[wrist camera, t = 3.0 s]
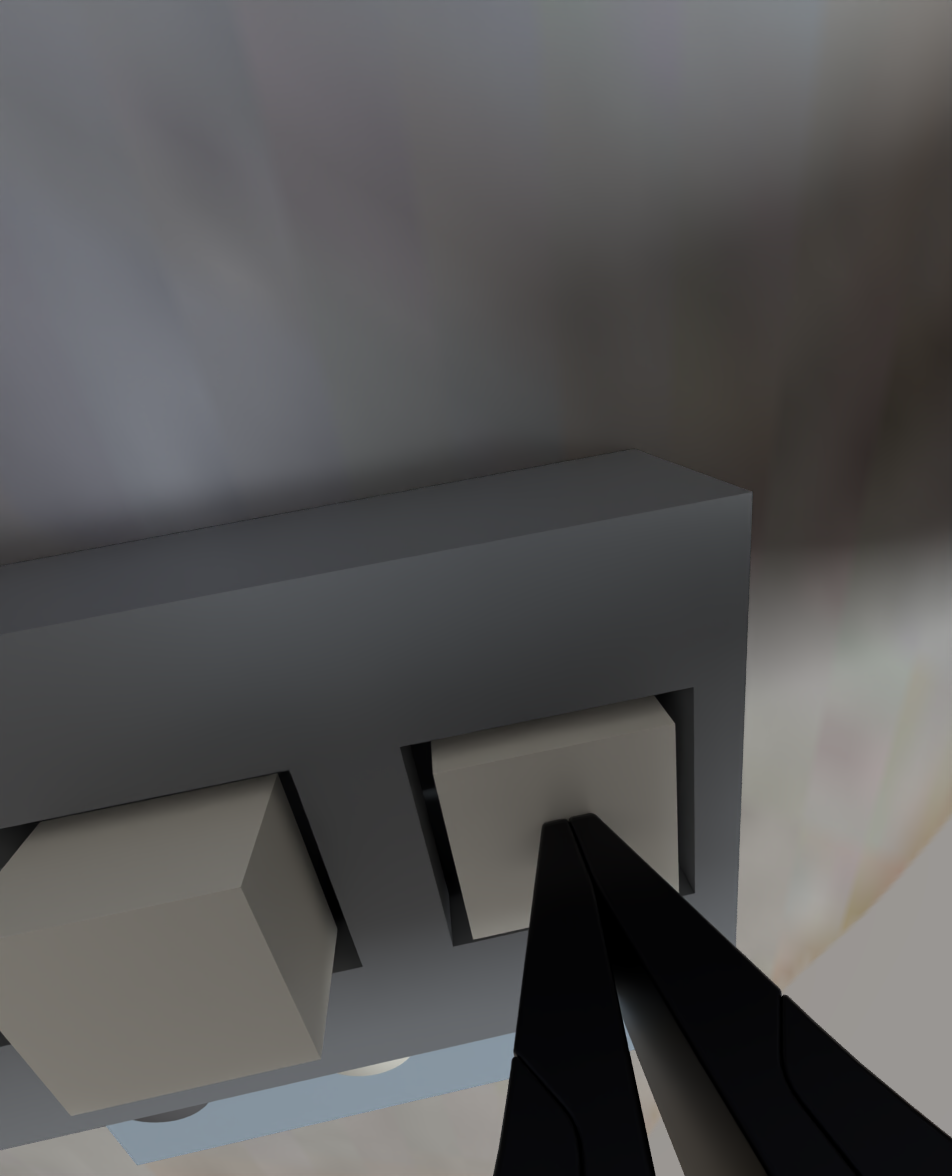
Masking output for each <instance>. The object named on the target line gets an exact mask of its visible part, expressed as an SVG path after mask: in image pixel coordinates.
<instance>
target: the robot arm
mask: <svg viewBox="0 0 952 1176" xmlns="http://www.w3.org/2000/svg"><path fill="white" fill-rule="evenodd" d="M623 1021H624V1023H625V1026H626V1028H627V1031H628V1033H629V1036H630V1039H631V1041H632V1044H633V1046H634V1049H635V1051H636V1054H637V1056H638V1059H639V1061H640V1064H641V1066H642V1069H643V1071H644V1074H645V1076H646V1079H647V1081H648V1084H649V1086H650V1089H651V1091H652V1094H653V1097H654V1099H655V1102H656V1104H657V1107H658V1109H659V1112H660V1114H661V1117H662V1119H663V1122H664V1124H665V1127H666V1129H667V1132H668V1134H669V1137H670V1139H671V1142H672V1144H673V1147H674V1150H675V1152H676V1155H677V1157H678V1160H679V1162H680V1165H681V1167H682V1170H683V1172H684V1175H685V1176H952V1138H951V1137H950V1136H949V1135H948V1134H946V1133H945V1132H944V1131H942V1130H941V1129H940V1128H939V1127H937V1126H936V1125H935V1124H934V1123H933V1122H931V1121H930V1120H929V1119H928V1118H926V1117H925V1116H924V1115H923V1114H922V1113H920V1112H919V1111H918V1110H917V1109H915V1108H914V1107H913V1106H912V1105H910V1104H909V1103H908V1102H907V1101H906V1100H904V1099H903V1098H902V1097H901V1096H899V1095H898V1094H897V1093H896V1092H895V1091H894V1090H892V1089H891V1088H890V1087H889V1086H888V1085H886V1084H885V1083H884V1082H883V1081H882V1080H880V1079H879V1078H878V1077H877V1076H876V1075H874V1074H873V1073H872V1072H871V1071H870V1070H868V1069H867V1068H866V1067H865V1066H864V1065H862V1064H861V1063H860V1062H859V1061H858V1060H857V1059H856V1058H855V1057H853V1056H852V1055H851V1054H850V1053H849V1052H848V1051H847V1050H846V1049H844V1048H843V1047H842V1046H841V1045H840V1044H839V1043H838V1042H837V1041H836V1040H835V1039H833V1038H832V1037H831V1036H830V1035H829V1034H828V1033H827V1032H826V1031H825V1030H824V1029H822V1028H821V1027H820V1026H819V1025H818V1024H817V1023H816V1022H815V1021H814V1020H813V1019H811V1018H810V1017H809V1016H808V1015H807V1014H806V1013H805V1012H804V1011H803V1010H802V1009H801V1008H800V1007H799V1006H798V1005H797V1004H796V1003H795V1002H794V1001H793V1000H792V999H791V998H789V996H787V995H783V996H782V994H781V990H780V988H779V987H778V986H777V985H775V984H774V983H773V982H772V981H771V980H770V979H769V978H768V977H767V976H766V975H765V974H764V973H763V972H762V971H761V970H760V969H759V968H758V967H756V966H755V965H754V964H753V963H752V962H751V961H750V960H749V959H748V958H747V957H746V956H745V955H744V954H743V953H742V952H741V951H740V950H738V949H737V948H736V947H735V946H734V945H733V944H732V943H731V942H730V941H729V940H728V939H727V938H726V937H725V936H724V935H723V934H722V933H721V932H719V931H718V930H717V929H716V928H715V927H714V926H713V925H712V924H711V923H710V922H709V921H708V920H707V919H706V918H705V917H704V916H703V915H702V914H700V913H699V912H698V911H697V910H696V909H695V908H694V907H693V906H692V905H691V904H690V903H689V902H688V901H687V900H686V899H685V898H684V897H682V896H681V895H680V894H679V893H678V892H677V891H676V890H675V889H674V888H673V887H672V886H671V885H670V884H669V883H668V882H667V881H666V880H665V879H663V878H662V877H661V876H660V875H659V874H658V873H657V872H656V871H655V870H654V869H653V868H652V867H651V866H650V865H649V864H648V863H647V862H645V861H644V860H643V859H642V858H641V857H640V856H639V855H638V854H637V853H636V852H635V851H634V850H633V849H632V848H631V847H630V846H629V845H628V844H626V843H625V842H624V841H623V840H622V839H621V838H620V837H619V836H618V835H617V834H616V833H615V832H614V831H613V830H612V829H611V828H610V827H608V826H607V825H606V824H605V823H604V822H603V821H602V820H601V819H600V818H599V817H598V816H597V815H595V814H593V813H586V814H582V815H577V816H572V817H571V818H570V819H569V821H568V820H567V819H558V820H553V821H549V822H545V823H544V824H543V825H542V828H541V836H540V844H539V852H538V860H537V867H536V875H535V883H534V891H533V899H532V907H531V915H530V923H529V930H528V938H527V946H526V954H525V962H524V970H523V978H522V985H521V993H520V1001H519V1009H518V1017H517V1025H516V1033H515V1041H514V1048H513V1054H514V1057H513V1058H512V1061H511V1069H510V1077H509V1085H508V1092H507V1099H506V1105H505V1112H504V1118H503V1125H502V1131H501V1137H500V1144H499V1150H498V1154H497V1159H496V1164H495V1169H494V1174H493V1176H655V1171H654V1166H653V1161H652V1157H651V1152H650V1147H649V1142H648V1137H647V1132H646V1128H645V1123H644V1118H643V1113H642V1109H641V1104H640V1099H639V1094H638V1090H637V1085H636V1080H635V1075H634V1071H633V1066H632V1061H631V1056H630V1052H629V1047H628V1042H627V1037H626V1032H625V1028H624V1023H623Z"/></svg>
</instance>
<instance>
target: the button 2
mask: <svg viewBox="0 0 952 1176" xmlns="http://www.w3.org/2000/svg"><path fill="white" fill-rule="evenodd" d="M431 750H432V767H433V777H434V781H435V785H436V789H437V793H438V797H439V801H440V805H441V809H442V813H443V818H444V822H445V826H446V830H447V834H448V838H449V842H450V846H451V850H452V855H453V859H454V863H455V867H456V871H457V875H458V879H459V883H460V887H461V891H462V896H463V900H464V904H465V908H466V912H467V916H468V920H469V924H470V928H471V933H472V937H473V940H474V939H479V938H483V937H488V936H492V935H497V934H501V933H506V932H510V931H515V930H519V929H524V928H528V927H529V923H530V915H531V907H532V899H533V891H534V883H535V875H536V867H537V860H538V852H539V844H540V836H541V828H542V825H543V824H544V823H545V822H549V821H553V820H558V819H567V820H568V821H569V819H570V818H571V817H572V816H577V815H582V814H586V813H593V814H595V815H597V816H598V817H599V818H600V819H601V820H602V821H603V822H604V823H605V824H606V825H607V826H608V827H610V828H611V829H612V830H613V831H614V832H615V833H616V834H617V835H618V836H619V837H620V838H621V839H622V840H623V841H624V842H625V843H626V844H628V845H629V846H630V847H631V848H632V849H633V850H634V851H635V852H636V853H637V854H638V855H639V856H640V857H641V858H642V859H643V860H644V861H645V862H647V863H648V864H649V865H650V866H651V867H652V868H653V869H654V870H655V871H656V872H657V873H658V874H659V875H660V876H661V877H662V878H663V879H665V880H666V881H667V882H668V883H669V884H670V885H671V886H672V887H673V888H674V889H675V890H676V891H677V892H678V893H679V872H678V827H677V782H676V737H675V723H674V722H673V720H672V719H671V718H670V716H669V715H668V714H667V712H666V711H665V709H664V708H663V707H662V705H661V704H660V703H659V701H658V700H657V699H656V697H655V696H654V695H652V696H647V697H642V698H637V699H632V700H628V701H623V702H618V703H613V704H608V705H603V706H598V707H593V708H588V709H584V710H579V711H574V712H569V713H564V714H559V715H554V716H549V717H544V718H540V719H535V720H530V721H525V722H520V723H515V724H510V725H505V726H500V727H496V728H491V729H486V730H481V731H476V732H471V733H466V734H461V735H456V736H452V737H447V738H442V739H437V740H432V741H431Z"/></svg>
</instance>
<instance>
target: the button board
mask: <svg viewBox="0 0 952 1176" xmlns="http://www.w3.org/2000/svg"><path fill="white" fill-rule="evenodd" d="M752 499H753V492H752V491H749V490H746V489H743V488H741V487H738V486H735V485H732V484H730V483H727V482H724V481H721V480H719V479H716V478H713V477H711V476H708V475H705V474H702V473H700V472H697V471H694V470H691V469H689V468H686V467H683V466H681V465H678V464H675V463H672V462H670V461H667V460H664V459H661V458H659V457H656V456H653V455H651V454H648V453H645V452H642V451H640V450H637V449H631V450H625V451H620V452H614V453H609V454H604V455H598V456H593V457H587V458H582V459H577V460H571V461H566V462H560V463H555V464H549V465H544V466H539V467H533V468H528V469H522V470H517V471H512V472H506V473H501V474H495V475H490V476H484V477H479V478H474V479H468V480H463V481H457V482H452V483H447V484H441V485H436V486H430V487H425V488H419V489H414V490H409V491H403V492H398V493H392V494H387V495H382V496H376V497H371V498H365V499H360V500H354V501H349V502H344V503H338V504H333V505H327V506H322V507H317V508H311V509H306V510H300V511H295V512H289V513H284V514H279V515H273V516H268V517H262V518H257V519H252V520H246V521H241V522H235V523H230V524H224V525H219V526H214V527H208V528H203V529H197V530H192V531H186V532H181V533H176V534H170V535H165V536H159V537H154V538H149V539H143V540H138V541H132V542H127V543H121V544H116V545H111V546H105V547H100V548H94V549H89V550H84V551H78V552H73V553H67V554H62V555H56V556H51V557H46V558H40V559H35V560H29V561H24V562H19V563H13V564H8V565H2V566H0V871H1V870H2V868H3V867H4V866H5V865H6V863H7V862H8V861H9V860H10V858H11V857H12V856H13V855H14V854H15V852H16V851H17V850H18V849H19V847H20V846H21V845H22V844H23V842H24V841H25V840H26V839H27V838H28V836H29V835H30V834H31V833H32V831H33V830H34V829H35V828H36V826H37V825H38V824H39V823H40V822H42V821H47V820H51V819H56V818H61V817H66V816H71V815H76V814H81V813H86V812H90V811H95V810H100V809H105V808H110V807H115V806H120V805H125V804H130V803H134V802H139V801H144V800H149V799H154V798H159V797H164V796H169V795H174V794H178V793H183V792H188V791H193V790H198V789H203V788H208V787H213V786H218V785H222V784H227V783H232V782H237V781H242V780H247V779H252V778H257V777H262V776H266V775H271V774H276V773H278V776H279V778H280V781H281V783H282V786H283V789H284V791H285V794H286V796H287V799H288V802H289V804H290V807H291V809H292V812H293V815H294V817H295V820H296V822H297V825H298V828H299V830H300V833H301V835H302V838H303V841H304V843H305V846H306V848H307V851H308V854H309V856H310V859H311V861H312V864H313V867H314V869H315V872H316V874H317V877H318V880H319V882H320V885H321V887H322V890H323V893H324V895H325V898H326V900H327V903H328V906H329V908H330V911H331V913H332V916H333V919H334V921H335V924H336V926H337V929H338V930H337V938H336V945H335V953H334V961H333V969H332V977H331V985H330V992H329V1000H328V1008H327V1016H326V1024H325V1032H324V1039H323V1047H322V1055H321V1059H320V1060H315V1061H311V1062H306V1063H302V1064H298V1065H293V1066H289V1067H284V1068H280V1069H276V1070H271V1071H267V1072H262V1073H258V1074H254V1075H249V1076H245V1077H241V1078H236V1079H232V1080H227V1081H223V1082H219V1083H214V1084H210V1085H205V1086H201V1087H197V1088H192V1089H188V1090H183V1091H179V1092H175V1093H170V1094H166V1095H161V1096H157V1097H153V1098H148V1099H144V1100H139V1101H135V1102H131V1103H126V1104H122V1105H117V1106H113V1107H109V1108H104V1109H100V1110H96V1111H91V1112H87V1113H82V1114H78V1115H74V1116H70V1114H69V1113H68V1112H67V1111H66V1110H65V1108H64V1107H63V1106H62V1105H61V1104H60V1102H59V1101H58V1100H57V1099H56V1098H55V1096H54V1095H53V1094H52V1093H51V1092H50V1090H49V1089H48V1088H47V1087H46V1086H45V1084H44V1083H43V1082H42V1081H41V1080H40V1078H39V1077H38V1076H37V1075H36V1074H35V1072H34V1071H33V1070H32V1069H31V1068H30V1066H29V1065H28V1064H27V1063H26V1061H25V1060H24V1059H23V1058H22V1057H21V1055H20V1054H19V1053H18V1052H17V1051H16V1049H15V1048H14V1047H13V1046H12V1045H11V1043H10V1042H9V1041H8V1040H7V1039H6V1037H5V1036H4V1035H3V1034H2V1033H1V1031H0V1150H4V1149H8V1148H12V1147H17V1146H21V1145H25V1144H30V1143H34V1142H38V1141H43V1140H47V1139H52V1138H56V1137H60V1136H65V1135H69V1134H73V1133H78V1132H82V1131H86V1130H91V1129H95V1128H100V1127H104V1126H108V1125H113V1124H117V1123H121V1122H126V1121H130V1120H135V1119H139V1118H143V1117H148V1116H152V1115H156V1114H161V1113H165V1112H169V1111H174V1110H178V1109H183V1108H187V1107H191V1106H196V1105H200V1104H204V1103H209V1102H213V1101H217V1100H222V1099H226V1098H231V1097H235V1096H239V1095H244V1094H248V1093H252V1092H257V1091H261V1090H266V1089H270V1088H274V1087H279V1086H283V1085H287V1084H292V1083H296V1082H300V1081H305V1080H309V1079H314V1078H318V1077H322V1076H327V1075H331V1074H335V1073H340V1072H344V1071H348V1070H353V1069H357V1068H362V1067H366V1066H370V1065H375V1064H379V1063H383V1062H388V1061H392V1060H397V1059H401V1058H405V1057H410V1056H414V1055H418V1054H423V1053H427V1052H431V1051H436V1050H440V1049H445V1048H449V1047H453V1046H458V1045H462V1044H466V1043H471V1042H475V1041H479V1040H484V1039H488V1038H493V1037H497V1036H501V1035H506V1034H510V1033H514V1032H516V1025H517V1017H518V1009H519V1001H520V993H521V985H522V978H523V970H524V962H525V954H526V946H527V938H528V930H529V927H528V928H524V929H519V930H515V931H510V932H506V933H501V934H497V935H492V936H488V937H483V938H479V939H474V940H473V937H472V933H471V928H470V924H469V920H468V916H467V912H466V908H465V904H464V900H463V896H462V891H461V887H460V883H459V879H458V875H457V871H456V867H455V863H454V859H453V855H452V850H451V846H450V842H449V838H448V834H447V830H446V826H445V822H444V818H443V813H442V809H441V805H440V801H439V797H438V793H437V789H436V785H435V781H434V777H433V767H432V750H431V741H432V740H437V739H442V738H447V737H452V736H456V735H461V734H466V733H471V732H476V731H481V730H486V729H491V728H496V727H500V726H505V725H510V724H515V723H520V722H525V721H530V720H535V719H540V718H544V717H549V716H554V715H559V714H564V713H569V712H574V711H579V710H584V709H588V708H593V707H598V706H603V705H608V704H613V703H618V702H623V701H628V700H632V699H637V698H642V697H647V696H652V695H654V696H655V697H656V699H657V700H658V701H659V703H660V704H661V705H662V707H663V708H664V709H665V711H666V712H667V714H668V715H669V716H670V718H671V719H672V720H673V722H674V723H675V737H676V782H677V827H678V872H679V894H680V895H681V896H682V897H684V898H685V899H686V900H687V901H688V902H689V903H690V904H691V905H692V906H693V907H694V908H695V909H696V910H697V911H698V912H699V913H700V914H702V915H703V916H704V917H705V918H706V919H707V920H708V921H709V922H710V923H711V924H712V925H713V926H714V927H715V928H716V929H717V930H718V931H719V932H721V933H722V934H723V935H724V936H725V937H726V938H727V939H728V940H729V941H730V942H731V943H732V944H733V945H734V946H735V947H736V924H737V898H738V871H739V844H740V818H741V791H742V765H743V738H744V712H745V685H746V659H747V632H748V605H749V579H750V552H751V526H752Z"/></svg>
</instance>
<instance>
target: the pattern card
mask: <svg viewBox="0 0 952 1176" xmlns="http://www.w3.org/2000/svg"><path fill="white" fill-rule="evenodd" d="M623 1023H624V1021H623ZM624 1028H625V1032H626V1037H627V1042H628V1047H629V1051H631V1050H635V1049H634V1046H633V1044H632V1041H631V1039H630V1036H629V1033H628V1031H627V1028H626V1026H625V1023H624ZM515 1033H516V1032H514V1033H510V1034H506V1035H501V1036H497V1037H493V1038H488V1039H484V1040H479V1041H475V1042H471V1043H466V1044H462V1045H458V1046H453V1047H449V1048H445V1049H440V1050H436V1051H431V1052H427V1053H423V1054H418V1055H414V1056H410V1057H405V1058H401V1059H397V1060H392V1061H388V1062H383V1063H379V1064H375V1065H370V1066H366V1067H362V1068H357V1069H353V1070H348V1071H344V1072H340V1073H335V1074H331V1075H327V1076H322V1077H318V1078H314V1079H309V1080H305V1081H300V1082H296V1083H292V1084H287V1085H283V1086H279V1087H274V1088H270V1089H266V1090H261V1091H257V1092H252V1093H248V1094H244V1095H239V1096H235V1097H231V1098H226V1099H222V1100H217V1101H213V1102H209V1103H204V1104H200V1105H196V1106H191V1107H187V1108H183V1109H178V1110H174V1111H169V1112H165V1113H161V1114H156V1115H152V1116H148V1117H143V1118H139V1119H135V1120H130V1121H126V1122H121V1123H117V1124H113V1125H108V1126H106V1127H107V1128H108V1129H109V1130H110V1132H111V1133H112V1134H113V1135H114V1137H115V1138H116V1139H117V1141H118V1142H119V1143H120V1144H121V1146H122V1147H123V1148H124V1149H125V1151H126V1152H127V1153H128V1154H129V1156H130V1157H131V1158H132V1159H133V1161H134V1162H135V1163H136V1164H137V1165H141V1164H145V1163H149V1162H154V1161H158V1160H162V1159H167V1158H171V1157H175V1156H179V1155H184V1154H188V1153H192V1152H197V1151H201V1150H205V1149H210V1148H214V1147H218V1146H222V1145H227V1144H231V1143H235V1142H240V1141H244V1140H248V1139H253V1138H257V1137H261V1136H265V1135H270V1134H274V1133H278V1132H283V1131H287V1130H291V1129H296V1128H300V1127H304V1126H308V1125H313V1124H317V1123H321V1122H326V1121H330V1120H334V1119H339V1118H343V1117H347V1116H351V1115H356V1114H360V1113H364V1112H369V1111H373V1110H377V1109H382V1108H386V1107H390V1106H394V1105H399V1104H403V1103H407V1102H412V1101H416V1100H420V1099H425V1098H429V1097H433V1096H437V1095H442V1094H446V1093H450V1092H455V1091H459V1090H463V1089H468V1088H472V1087H476V1086H480V1085H485V1084H489V1083H493V1082H498V1081H502V1080H506V1079H509V1077H510V1069H511V1061H512V1058H513V1057H514V1054H513V1048H514V1041H515Z"/></svg>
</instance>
